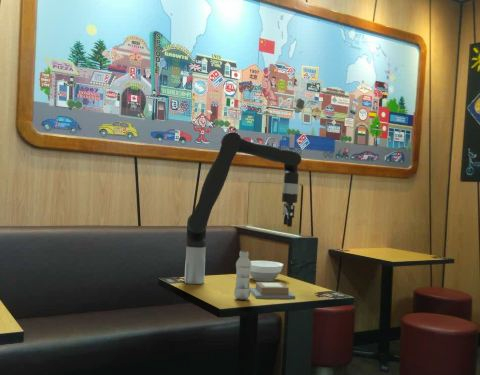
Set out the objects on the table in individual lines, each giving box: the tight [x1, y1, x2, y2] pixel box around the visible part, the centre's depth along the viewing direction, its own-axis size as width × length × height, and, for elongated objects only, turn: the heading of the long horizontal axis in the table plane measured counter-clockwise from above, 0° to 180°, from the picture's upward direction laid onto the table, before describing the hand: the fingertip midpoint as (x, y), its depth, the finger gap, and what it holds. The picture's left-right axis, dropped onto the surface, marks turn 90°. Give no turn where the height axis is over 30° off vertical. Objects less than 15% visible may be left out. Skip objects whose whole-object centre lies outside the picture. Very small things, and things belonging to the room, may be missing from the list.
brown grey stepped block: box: [249, 281, 296, 300], centre depth 224 cm, size 17×16×4 cm
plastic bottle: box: [233, 250, 251, 301], centre depth 212 cm, size 6×7×20 cm
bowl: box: [250, 260, 284, 282], centre depth 259 cm, size 19×20×8 cm
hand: (287, 225), depth 250 cm, fingers open, 8 cm apart
